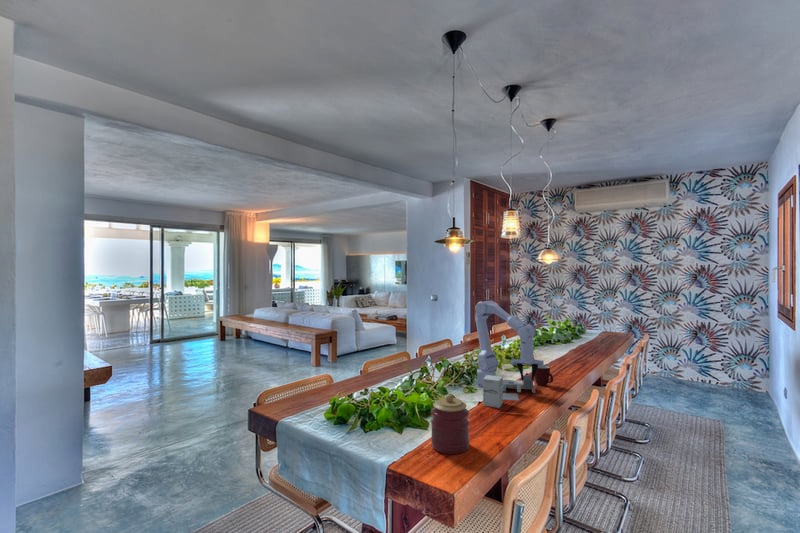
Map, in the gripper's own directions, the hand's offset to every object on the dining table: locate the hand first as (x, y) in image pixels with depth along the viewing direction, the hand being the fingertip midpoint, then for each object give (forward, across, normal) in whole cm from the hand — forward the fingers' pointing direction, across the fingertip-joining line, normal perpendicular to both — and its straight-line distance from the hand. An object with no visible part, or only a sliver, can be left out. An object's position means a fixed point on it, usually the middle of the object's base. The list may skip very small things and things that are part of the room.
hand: (527, 380), depth 182 cm
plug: (+2, 0, 0) cm, 2 cm away
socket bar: (+8, -4, +8) cm, 12 cm away
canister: (+8, -31, -57) cm, 66 cm away
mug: (+8, +10, +20) cm, 24 cm away
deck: (+8, -8, -2) cm, 12 cm away
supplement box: (+8, -16, -14) cm, 23 cm away
